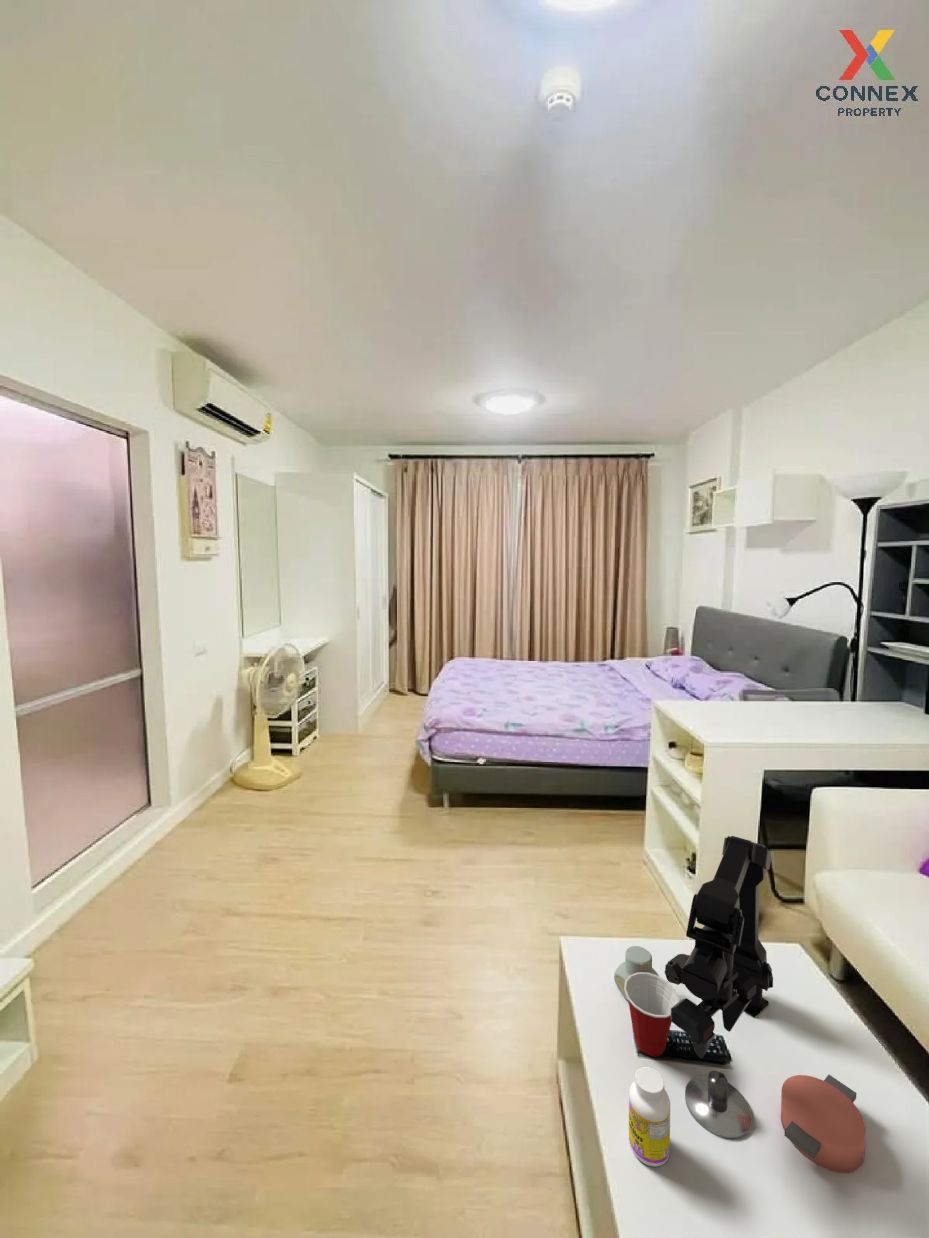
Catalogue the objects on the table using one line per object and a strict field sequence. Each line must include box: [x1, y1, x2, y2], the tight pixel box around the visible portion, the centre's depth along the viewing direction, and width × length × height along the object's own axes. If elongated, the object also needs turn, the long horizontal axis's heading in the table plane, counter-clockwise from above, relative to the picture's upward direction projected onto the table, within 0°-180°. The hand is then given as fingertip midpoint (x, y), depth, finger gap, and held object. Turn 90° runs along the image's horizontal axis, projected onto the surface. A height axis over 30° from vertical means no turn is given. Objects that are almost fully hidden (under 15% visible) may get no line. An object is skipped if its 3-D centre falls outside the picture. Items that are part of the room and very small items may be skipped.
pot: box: [780, 1074, 866, 1174], centre depth 92 cm, size 17×12×5 cm
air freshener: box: [613, 945, 660, 1001], centre depth 123 cm, size 11×8×10 cm
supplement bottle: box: [628, 1066, 671, 1168], centre depth 90 cm, size 7×7×13 cm
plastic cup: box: [624, 972, 680, 1057], centre depth 110 cm, size 11×11×12 cm
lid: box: [684, 1069, 752, 1140], centre depth 97 cm, size 11×11×6 cm
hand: (713, 1042), depth 97 cm, fingers open, 9 cm apart
